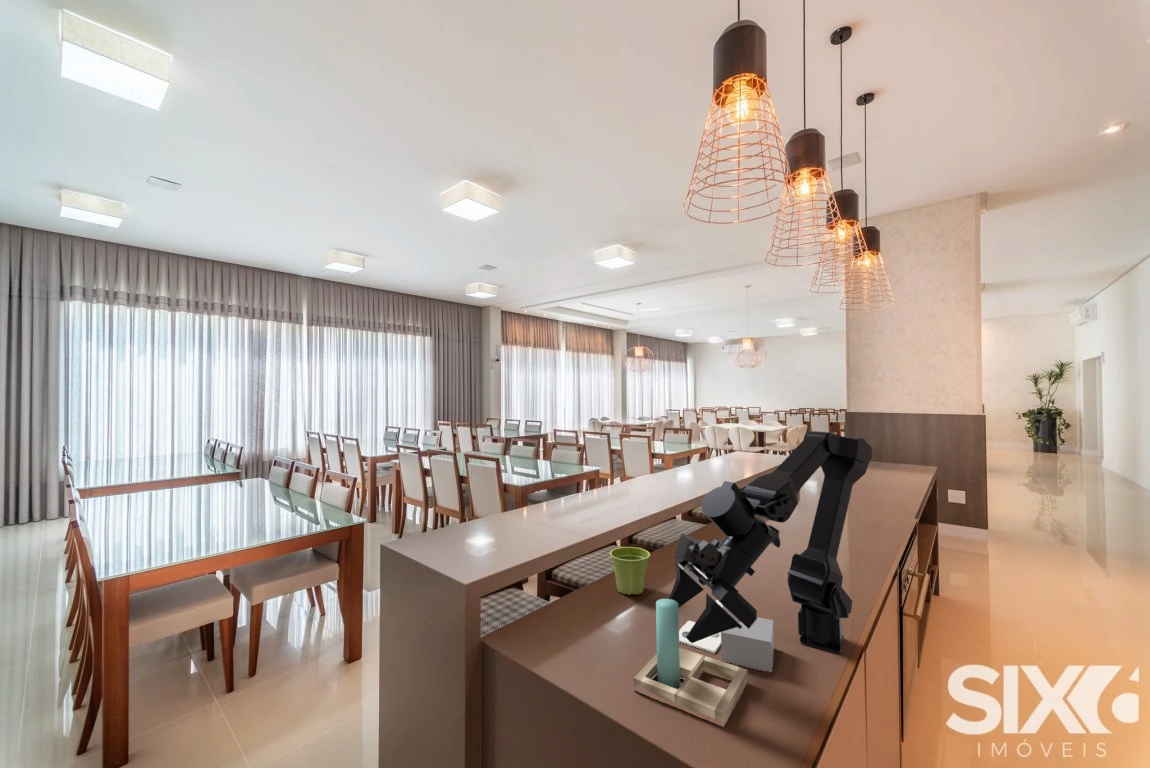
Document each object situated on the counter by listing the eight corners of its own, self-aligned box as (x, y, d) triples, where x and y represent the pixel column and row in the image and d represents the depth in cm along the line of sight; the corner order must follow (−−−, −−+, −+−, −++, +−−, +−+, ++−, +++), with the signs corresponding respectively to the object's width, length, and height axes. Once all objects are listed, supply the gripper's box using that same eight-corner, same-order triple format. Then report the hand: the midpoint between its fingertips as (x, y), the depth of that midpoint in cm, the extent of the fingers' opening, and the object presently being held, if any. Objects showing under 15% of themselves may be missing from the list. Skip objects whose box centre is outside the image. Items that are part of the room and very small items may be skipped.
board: (747, 682, 73) (747, 669, 73) (724, 728, 63) (723, 713, 63) (666, 654, 81) (665, 643, 81) (634, 691, 71) (633, 678, 71)
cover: (773, 648, 83) (773, 620, 83) (772, 672, 75) (771, 642, 75) (727, 638, 86) (726, 611, 86) (721, 661, 79) (720, 632, 79)
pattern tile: (728, 633, 88) (728, 630, 88) (714, 653, 81) (714, 650, 81) (688, 622, 92) (688, 619, 92) (672, 640, 86) (672, 637, 86)
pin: (683, 684, 73) (681, 602, 73) (674, 696, 70) (672, 610, 70) (663, 677, 75) (661, 596, 75) (653, 688, 72) (652, 605, 72)
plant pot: (624, 578, 114) (624, 543, 115) (658, 588, 108) (657, 551, 109) (602, 591, 107) (602, 554, 107) (637, 602, 101) (636, 563, 101)
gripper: (682, 503, 83) (625, 570, 81) (734, 535, 65) (662, 622, 63) (724, 543, 84) (669, 610, 82) (787, 585, 66) (717, 672, 64)
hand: (677, 625), depth 73 cm, fingers open, 9 cm apart
